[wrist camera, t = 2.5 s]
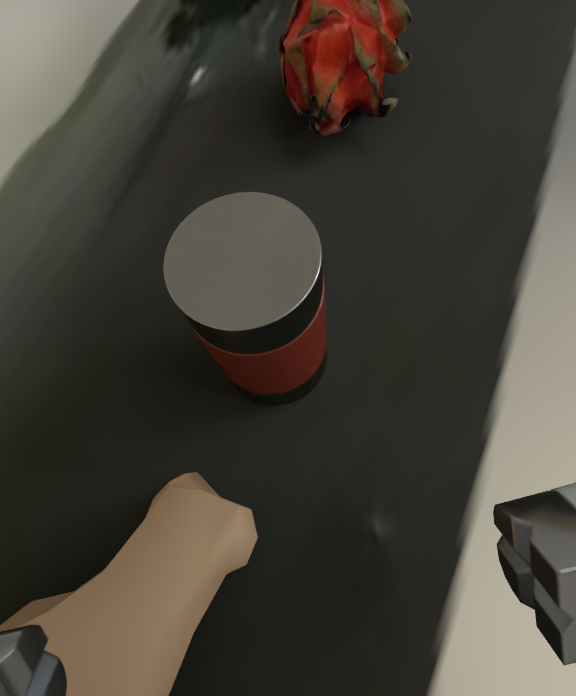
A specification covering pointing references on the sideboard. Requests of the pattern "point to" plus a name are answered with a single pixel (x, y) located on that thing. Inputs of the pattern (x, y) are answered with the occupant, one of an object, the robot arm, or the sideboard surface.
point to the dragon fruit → (341, 58)
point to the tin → (253, 292)
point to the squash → (146, 595)
